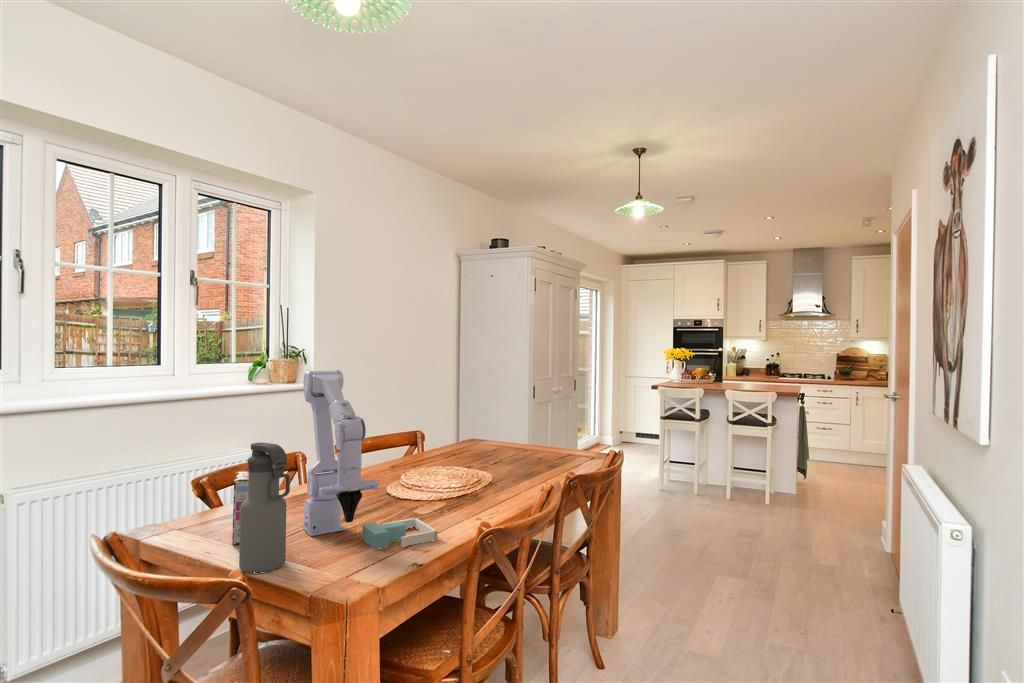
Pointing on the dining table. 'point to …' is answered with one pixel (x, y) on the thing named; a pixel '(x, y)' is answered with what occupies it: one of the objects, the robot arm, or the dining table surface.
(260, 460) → the water bottle
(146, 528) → the dining table surface
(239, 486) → the candy bar box
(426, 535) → the white u-shaped bracket
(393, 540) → the t block
